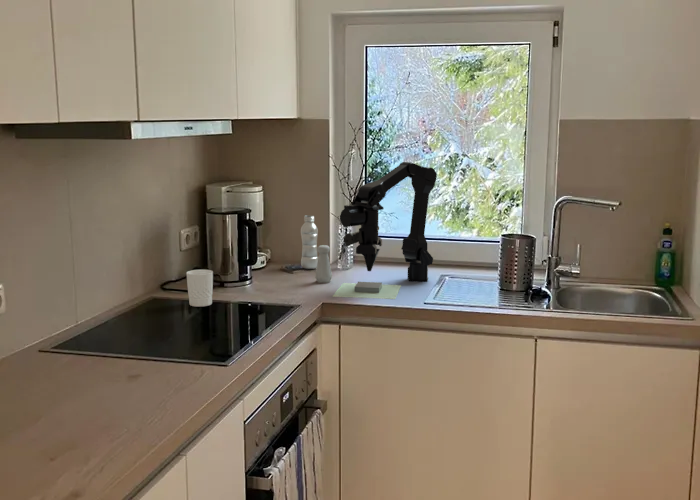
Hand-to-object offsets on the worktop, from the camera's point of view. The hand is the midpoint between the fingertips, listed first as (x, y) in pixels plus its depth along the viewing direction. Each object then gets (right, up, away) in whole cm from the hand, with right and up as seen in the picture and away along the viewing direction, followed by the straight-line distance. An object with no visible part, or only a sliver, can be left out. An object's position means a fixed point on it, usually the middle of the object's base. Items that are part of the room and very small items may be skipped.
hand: (369, 271), depth 248 cm
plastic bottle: (-21, 0, +36) cm, 42 cm away
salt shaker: (-15, -5, +12) cm, 20 cm away
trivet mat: (0, -7, -1) cm, 7 cm away
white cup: (-52, -10, -18) cm, 56 cm away
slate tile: (0, -5, +3) cm, 6 cm away
